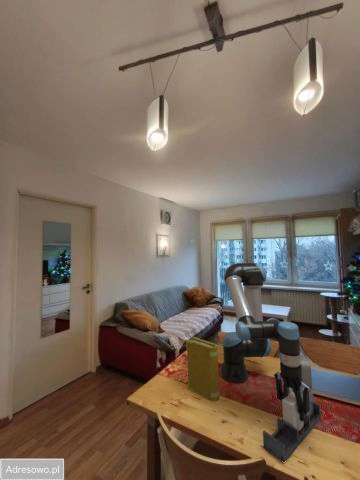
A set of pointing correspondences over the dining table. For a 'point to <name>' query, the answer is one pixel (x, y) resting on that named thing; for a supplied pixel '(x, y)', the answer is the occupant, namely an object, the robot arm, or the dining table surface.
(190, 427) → the dining table surface
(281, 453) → the rack
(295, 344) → the robot arm
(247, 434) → the dining table surface
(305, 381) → the network device
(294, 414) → the block
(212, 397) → the book
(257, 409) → the dining table surface
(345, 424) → the dining table surface
